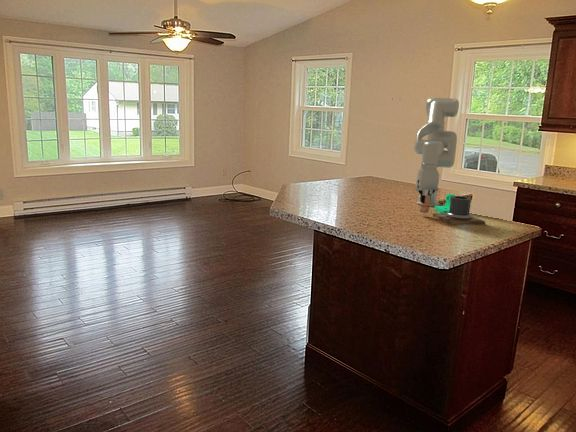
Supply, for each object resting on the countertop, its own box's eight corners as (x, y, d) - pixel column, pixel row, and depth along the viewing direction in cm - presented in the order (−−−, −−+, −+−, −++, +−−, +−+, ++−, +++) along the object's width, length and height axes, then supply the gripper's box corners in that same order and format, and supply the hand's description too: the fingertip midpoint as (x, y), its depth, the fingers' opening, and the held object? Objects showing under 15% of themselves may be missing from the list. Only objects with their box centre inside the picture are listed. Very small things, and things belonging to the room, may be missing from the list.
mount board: (432, 216, 251) (433, 213, 251) (463, 215, 255) (464, 213, 255) (452, 224, 234) (452, 221, 234) (484, 224, 238) (485, 221, 238)
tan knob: (415, 210, 251) (417, 193, 249) (426, 210, 253) (428, 193, 251) (421, 213, 245) (423, 196, 243) (432, 213, 247) (434, 196, 245)
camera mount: (433, 210, 267) (435, 192, 264) (446, 210, 268) (448, 192, 266) (443, 215, 255) (446, 196, 253) (457, 215, 256) (459, 196, 254)
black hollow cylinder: (441, 214, 249) (443, 195, 246) (462, 214, 251) (464, 195, 249) (454, 220, 237) (457, 200, 235) (476, 219, 240) (478, 200, 238)
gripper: (439, 165, 248) (435, 200, 253) (410, 165, 245) (407, 201, 249) (447, 168, 241) (443, 204, 246) (418, 168, 238) (414, 204, 242)
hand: (425, 202), depth 248 cm, fingers closed on tan knob
